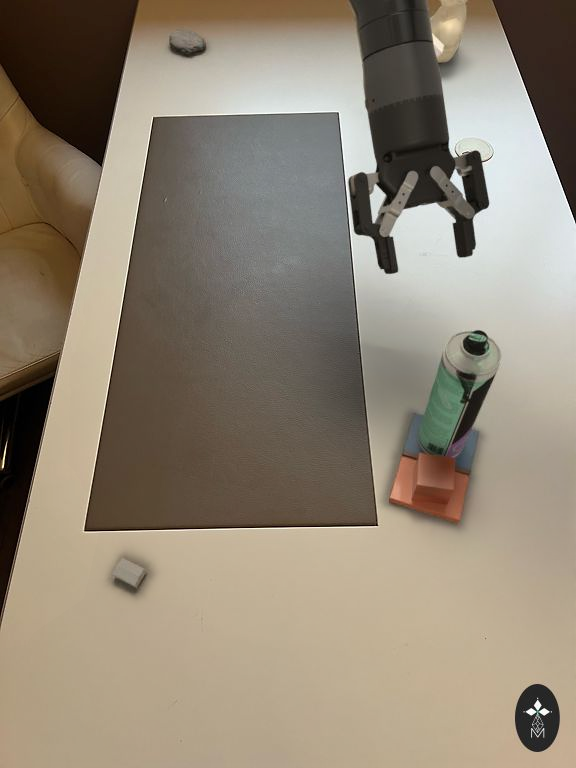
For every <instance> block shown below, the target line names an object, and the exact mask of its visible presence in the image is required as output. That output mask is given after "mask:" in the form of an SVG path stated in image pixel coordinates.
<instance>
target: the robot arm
mask: <svg viewBox="0 0 576 768" xmlns="http://www.w3.org/2000/svg"><path fill="white" fill-rule="evenodd" d="M346 1H347V4H348V6H349V8H350V9H351V12H352V14H353V16H354V21H355V26H356V34H357V40H358V41H357V42H358V47H359V52H360V59H361V66H362V84H363V85H362V87H363V93H364V94H363V95H364V108H365V109H366V112H367V120H368V125H369V130H370V137H371V143H372V148H373V149H372V150H373V154H374V159H375V164H376V167H375V172H370V173H366V172H363V171H360V172H358V173H355V174H353V175H351V176H349V178H348V181H347V183H348V192H349V201H350V207H351V208H350V209H351V217H352V219H351V220H352V227H353V232H354V234H355V235H357V236H363V237H369V238H371V239H372V240H373V243H374V249H375V254H376V259H377V260H376V261H377V266H378V267H379V269H380V270H383V272H384V274H386V275H393V274H397V273H398V272H399V265H398V259H397V253H396V246H395V239H394V236H392V235H391V236H390V234H391V233H392V230H393V228H394V227H395V224H396V222H397V220H398V218H399V217H400V216H401V215H402V213H403V211H404V210H409V209H412V208H417V207H419V206H427V205H432V204H437V205H438V206H439V207H440V208H441V209H444V210H445V211H446V212H447V213H448V214H449V215H450V216H451V217H452V218H453V219H454V221H455V222H452V230H453V236H454V244H455V252H456V255H457V257H458V258H459V259H461V258H468V257H473V255H474V251H475V250H476V246H477V241H476V234H475V226H474V218H475V216H476V215H477V214H479V213H480V212H482V211H483V210H487V209H488V208H489V207H490V198H489V193H488V192H489V191H488V187H487V182H486V176H485V171H484V165H483V159H482V154H481V152H480V151H478V150H472V151H468V152H465V153H463V154H461V155H457V156H455V157H454V156H453V155H452V152H451V151H450V134H449V133H450V132H449V126H448V117H447V112H446V105H445V104H446V103H445V97H444V89H443V81H442V75H441V74H442V73H441V69H440V65H439V62H438V60H437V57H436V53H435V49H434V44H433V37H432V29H431V22H430V18H431V15H430V8H429V3H428V0H346ZM455 170H456V173H457V175H458V176H459V177H461V182H462V187H463V191H464V194H463V193H462V191H461V190H459V188H458V187H457V186H456V185H455V184H454V183H453V182H452V181H451V179H452V177H453V174H454V172H455ZM375 185H376V186H377V187H378V188H379V190H380V191H381V192H382V193H383V194H384V195H385V196H384V198H383V199H382V203H381V205H380V207H379V209H378V211H377V217H376V219H375V221H374V222H373V214H372V213H373V212H372V205H371V195H372V194H373V192H374V191H375V190H374V189H375ZM464 197H465V198H464Z"/></svg>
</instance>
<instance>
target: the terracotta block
mask: <svg viewBox="0 0 576 768" xmlns="http://www.w3.org/2000/svg"><path fill="white" fill-rule="evenodd" d="M454 481H455V458H454V457H447V456H440V455H433V454H426V453H419V454H418V457H417V460H416V463H415V466H414V470H413V486H412V500H418V501H425V502H432V503H438V504H445V505H447V504H448V502H449V500H450V498H451V496H452V494H453V492H454Z"/></svg>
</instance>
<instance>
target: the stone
mask: <svg viewBox="0 0 576 768" xmlns="http://www.w3.org/2000/svg"><path fill="white" fill-rule="evenodd" d="M168 38H169V42H168V43H169V46H170V47H172V49H174V50H176V51H178V52H180V53H183V54H186V55H190V54H192V53H195V52H198V51H202V50H203V51H204V50H205V49H206V48H207V43H206V41H205V38H203V37H202V36H201V35H200V34H198V33H196V32H195V31H191V30H185V29H178V30H174V31H173V32H170V33H169V37H168Z"/></svg>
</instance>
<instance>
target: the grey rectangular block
mask: <svg viewBox="0 0 576 768" xmlns="http://www.w3.org/2000/svg"><path fill="white" fill-rule="evenodd" d="M146 574H148V572H147V570H146V569H145V568H144V567H142V566H140V565H138V564H136V563H134V562H131V561H130V560H128V559H126V558H124V557H121V559H120V560H119V561H118V563H117V564H116V565H115V568H114V570H113V571H112V576H113V577H114V578H115V579H118V580H119V581H122V582H124V583H125V584H128V585H129V586H132V587H133V588H135V589H137V590H139V589H138V586H139V585H140V584H141V583H142V582H141V581H142V579H145V575H146Z"/></svg>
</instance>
